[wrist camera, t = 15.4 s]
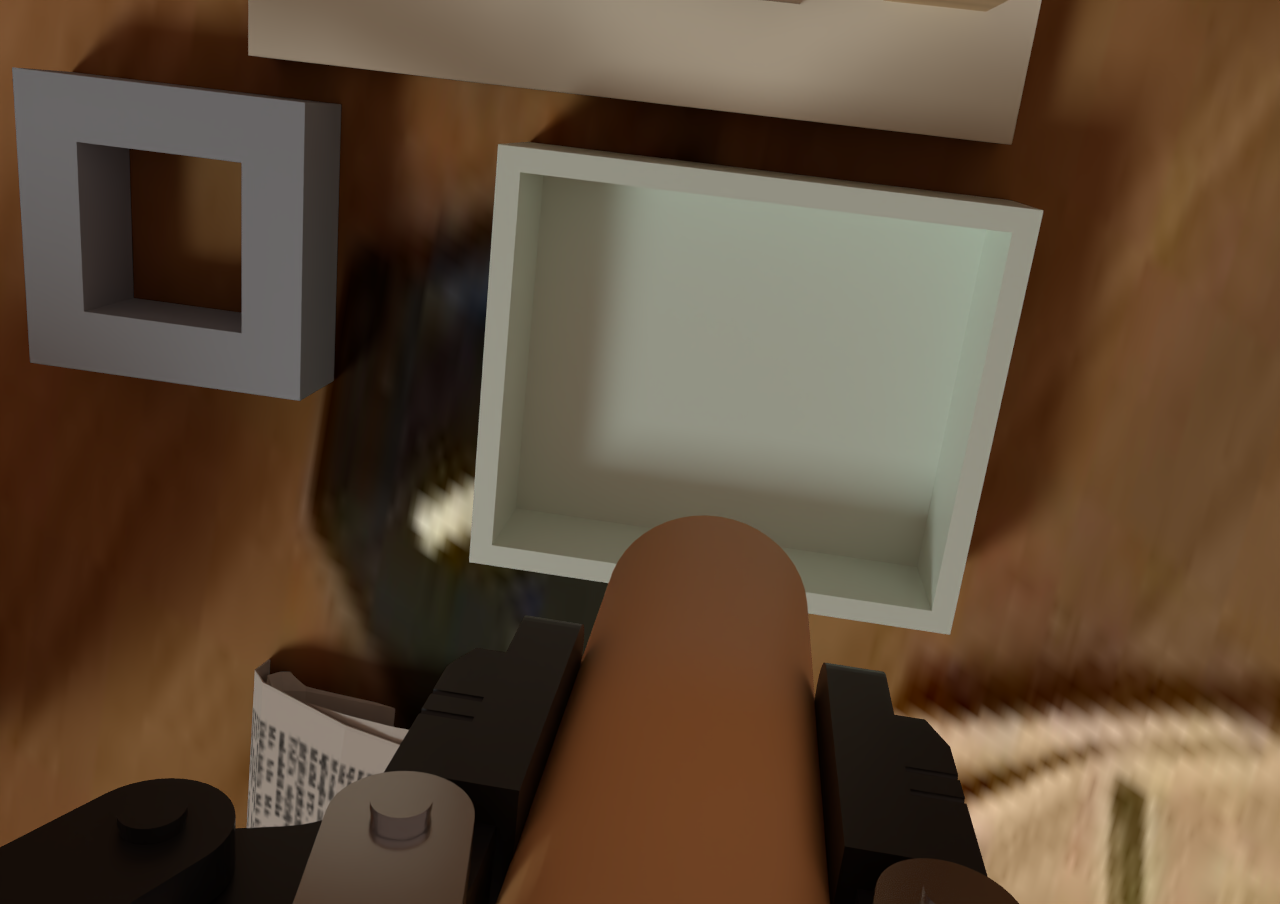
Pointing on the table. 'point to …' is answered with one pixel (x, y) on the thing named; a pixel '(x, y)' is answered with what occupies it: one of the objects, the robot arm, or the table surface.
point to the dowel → (685, 736)
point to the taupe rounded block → (787, 1)
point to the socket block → (102, 232)
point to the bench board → (695, 53)
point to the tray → (744, 369)
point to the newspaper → (311, 748)
